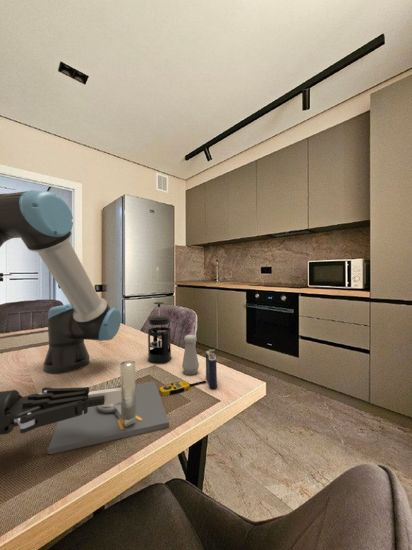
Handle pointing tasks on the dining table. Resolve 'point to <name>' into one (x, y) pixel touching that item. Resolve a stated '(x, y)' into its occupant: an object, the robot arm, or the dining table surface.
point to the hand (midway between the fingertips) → (121, 394)
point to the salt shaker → (190, 355)
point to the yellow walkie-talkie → (176, 388)
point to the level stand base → (110, 422)
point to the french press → (163, 347)
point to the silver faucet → (125, 396)
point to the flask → (211, 369)
